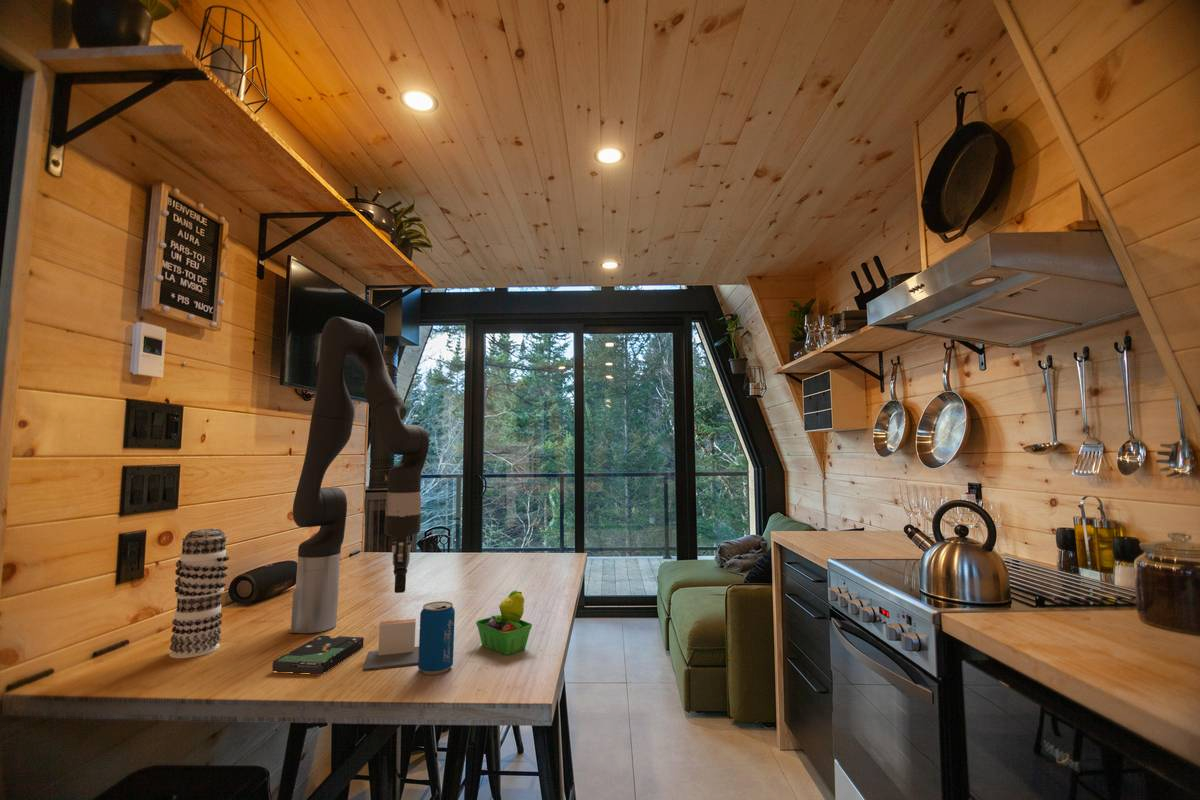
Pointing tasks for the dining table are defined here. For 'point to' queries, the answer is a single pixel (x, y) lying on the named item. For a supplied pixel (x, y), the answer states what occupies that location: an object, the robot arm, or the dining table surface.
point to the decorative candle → (199, 594)
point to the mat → (391, 659)
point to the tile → (396, 636)
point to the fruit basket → (506, 626)
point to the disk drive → (318, 655)
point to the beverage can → (436, 637)
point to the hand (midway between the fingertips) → (399, 591)
